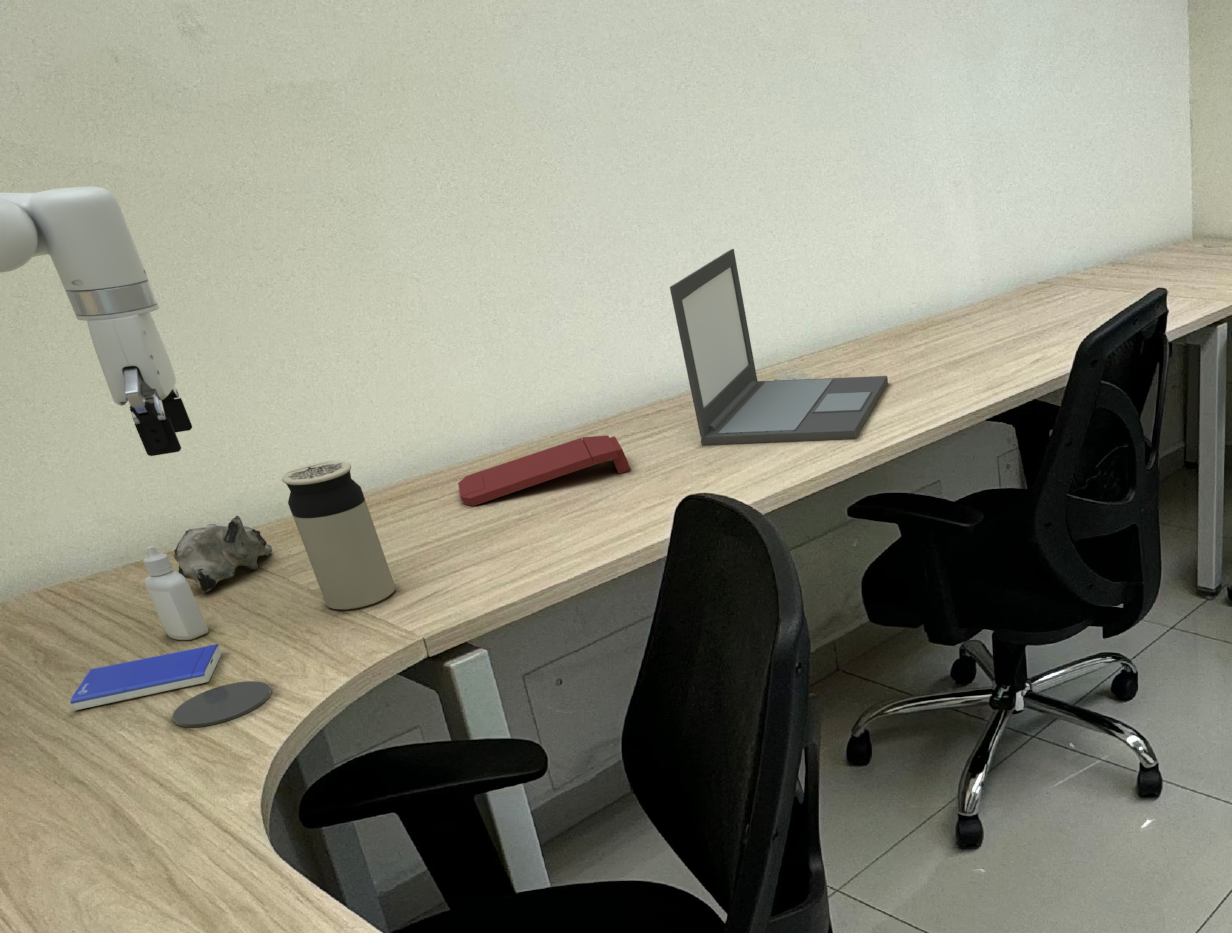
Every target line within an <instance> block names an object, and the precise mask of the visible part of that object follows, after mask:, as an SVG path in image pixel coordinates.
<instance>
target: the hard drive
mask: <svg viewBox="0 0 1232 933" xmlns="http://www.w3.org/2000/svg"><path fill="white" fill-rule="evenodd" d="M222 651H223V650H222V649H221V647H220V645H219V643H215V644H210V645H206V646H201V647H195V648H191V649H190V648H189V649H185V650H180V651H176V652H171V653H170V652H169V653H166V654H160V655H155V656H150V657H145V658H141V659H135V660H130V661H124V662H121V663H115V664H110V665H105V666H99V667H95V668H90V669H89V670H88V672H87V674H86V675H85V676H84V678H83V679H82V681H81V683H80V684H79V686H78V687H77V688H76V690H75V691H74V693H73V695H72V696H71V698H70V700H69V702H70V706H71V707H72V709H73V711H79V710H83V709H88V708H93V707H98V706H102V705H103V706H104V705H108V704H113V703H116V702H122V701H127V700H131V699H135V698H140V697H144V696H149V695H154V694H158V693H164V692H168V691H173V690H177V689H182V688H186V687H192V686H195V685H200V684H201V685H202V684H205V683H208V682H210V680H211V678H212V675H213V673H214V671H215V669H216V667H217V665H218V663H219V661H220V659H221V657H222V653H223V652H222Z"/></svg>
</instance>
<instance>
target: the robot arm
mask: <svg viewBox="0 0 1232 933" xmlns="http://www.w3.org/2000/svg"><path fill="white" fill-rule="evenodd" d="M123 213H124V212H123V211H122V208H121V206H120V204H119V201H118V199H117V198H116V196H115V195H114V194H113V192H111V191H110V190H109V189H106V188H104V187H100V186H73V187H72V186H71V187H61V188H53V189H45V190H41V191H38V192H0V274H1V273H8V272H12V271H15V270H17V269H20V268H22V267H23V266H25V265H26V264H28V262H29V261H31V259H32V258H36V257H40V256H46V255H49V257H50V259H51V261H52V263H53V266H54V268H55V271H56V272H57V275H58V277H59V280H60V282H61V284H62V287H63V289H64V291H65V293H66V296H67V298H68V301H69V303H70V305H71V307H72V310H73V313H74V315H75V317H76V319H77V320H78V321H86V322H87V327H88V331H89V334H90V338H91V341H92V344H93V348H94V352H95V355H96V357H97V359H98V362H99V365H100V368H101V370H102V373H103V376H104V379H105V382H106V384H107V387H108V390H109V393H110V395H111V397H112V398H111V399H112V400H113V403H114V404H116V405H118V406H121V407H122V406H125V405H126V404H127V403H128V404H129V411H130V412H131V417H132V421H133V422H134V427H135V429H136V431H137V434H138V436H139V438H140V440H141V443H142V445H143V446H142V447H143V448H144V450H145V453H146V455H147V456H149V457H154V456H160V455H161V456H162V455H167V454H173V453H179V452H181V450H182V445H181V443H180V441H179V438H178V436H177V434H176V433H182V432H187V431H189V432H190V431H191V430H192V429H193V424H192V422H191V419H190V416H189V415H188V412H187V409H186V407H185V404H184V402H183V399H182V397H180V392H179V391H178V389H177V388H176V383H177V378H176V374H175V371H174V368H173V364H172V362H171V360H170V356H169V354H168V352H167V348H166V346H165V344H164V341H163V339H162V337H161V335H160V332H159V329H158V327H157V325H156V322H155V320H154V318H153V316H152V314H151V312H154V311H157V310H159V309H160V306H159V303H158V300H157V297H156V295H155V293H154V290H153V288H152V285H151V282H150V280H149V277H148V275H147V272H146V269H145V268H144V265H143V262H142V260H141V257H140V254H139V252H138V249H137V247H136V244H135V241H134V239H133V236H132V234H131V231H130V229H129V226H128V223H127V222H126V219H125V215H124V214H123Z"/></svg>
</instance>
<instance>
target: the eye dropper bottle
mask: <svg viewBox="0 0 1232 933" xmlns="http://www.w3.org/2000/svg"><path fill="white" fill-rule="evenodd" d="M146 550H147V551H146V552H147V556H146V557H144V558H143V560H142V563H143V564H144V567H145V569H146V571H147V575H148V576H146V578H145V579H144V586H145V589H146V591H147V594H148V595H149V598H150V600H151V603H152V605H153V607H154V609H155V611H156V614H157V616H158V618H159V620H160V623H161V625H162V627H163V629H164V631H165V634H166V636H168V637H169V638H170V639H173V640H177V641H193V640H195V639H197V638H200V637H202V636H204V635H206V634H208V633H209V628H208V624H207V622H206V620H205V618H204V615H203V614H202V610H201V609H200V607H199V604H198V602H197V599H196V598H195V595H194V593H193V590H192V587H191V586H190V583H189V582H188V580H187V578H185V577H184V576H183V575H181V574H180V573H179V571H176V570H174V567H173V564H172V562H171V560H170V557H169V555H168V554H167V553H161V552H159V551H158V550H157V548H156V547H155V546H154V545H149V546H148V547H146Z"/></svg>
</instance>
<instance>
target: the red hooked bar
mask: <svg viewBox="0 0 1232 933" xmlns="http://www.w3.org/2000/svg"><path fill="white" fill-rule="evenodd" d="M609 461H611V462H612V464H613V465H614V467H615V469H616V471H617V473H618V474H619V475H620V474H623V473H626V472H629V471H631V470H632V469H631V466H630V463H629V462H628V461H629V460H628V459H627V456H626V454H625V452H624V450H623V447H622V446H621V444H620V442H619V440H618V439H617V437H616V436H611V437H610V436H609V435H607V434H606V435H595V436H593V435H592V436H582V437H578V438H576V439H572V440H570V441H567V442H565V443H560V444H557V445H555V446H552V447H549V448H546V449H543V450H540V451H537V452H534V453H531V454H528V455H525V456H521V457H519V458H516V459H513V460H510V461H506V462H503V463H501V464H498V465H495V466H492V467H488V468H485V469H483V470H480V471H477V472H474V473H471V474H468V475H466V476H465V477H463V478H462V479H461V480H460V481H459V482H457V486H458V490H459V497H460V499H461V501H462V504H463V505H466V506H474V507H475V506H477V505H480V504H484V503H486V502H490V501H492V500H496V499H498V498H501V497H504V496H507V495H510V494H513V493H515V492H518V491H522V490H524V489H527V488H530V487H533V486H536V485H539V484H542V483H545V482H547V481H551V480H553V479H556V478H559V477H562V476H565V475H569V474H571V473H573V472H577V471H580V470H582V469H586V468H589V467H592V466H594V465H597V464H601V463H605V462H609Z"/></svg>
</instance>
